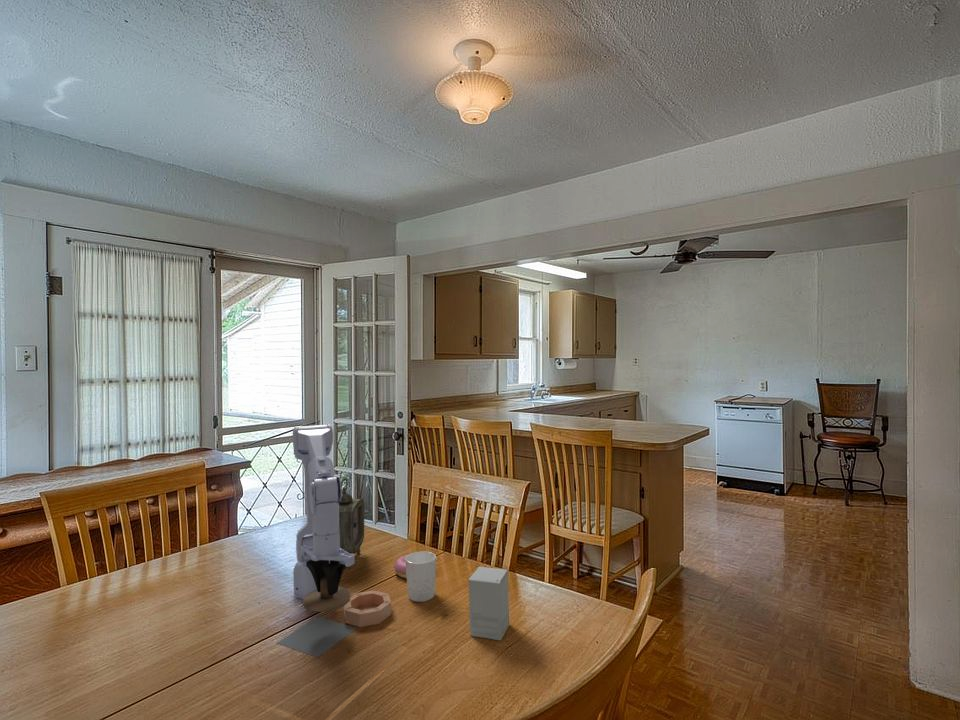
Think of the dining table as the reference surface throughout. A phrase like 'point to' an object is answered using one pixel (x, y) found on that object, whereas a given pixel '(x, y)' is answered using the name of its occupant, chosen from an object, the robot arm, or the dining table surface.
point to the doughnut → (401, 566)
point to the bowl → (367, 608)
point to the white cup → (421, 575)
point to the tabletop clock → (350, 522)
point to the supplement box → (489, 603)
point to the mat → (317, 636)
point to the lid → (325, 598)
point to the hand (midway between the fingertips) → (327, 591)
